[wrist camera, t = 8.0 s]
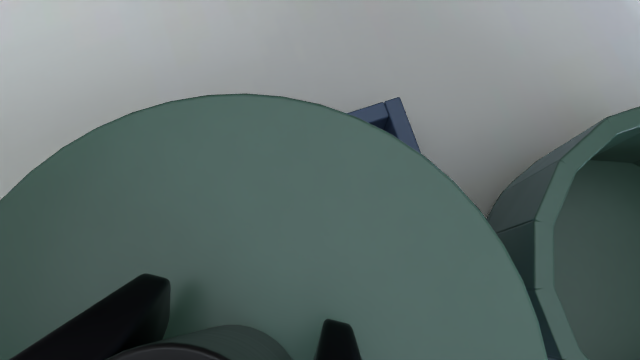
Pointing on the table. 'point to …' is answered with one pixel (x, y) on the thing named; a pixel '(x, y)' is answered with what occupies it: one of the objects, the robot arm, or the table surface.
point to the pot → (580, 241)
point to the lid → (261, 238)
